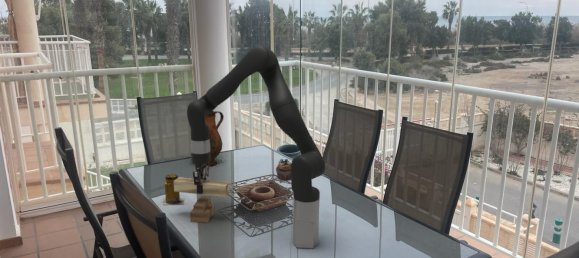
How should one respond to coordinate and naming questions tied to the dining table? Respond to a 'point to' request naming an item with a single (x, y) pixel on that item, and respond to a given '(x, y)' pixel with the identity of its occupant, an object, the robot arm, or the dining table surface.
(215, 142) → the pitcher
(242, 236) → the dining table surface
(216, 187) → the batten
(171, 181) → the condiment
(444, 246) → the dining table surface
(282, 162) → the cupcake
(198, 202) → the stair steps
